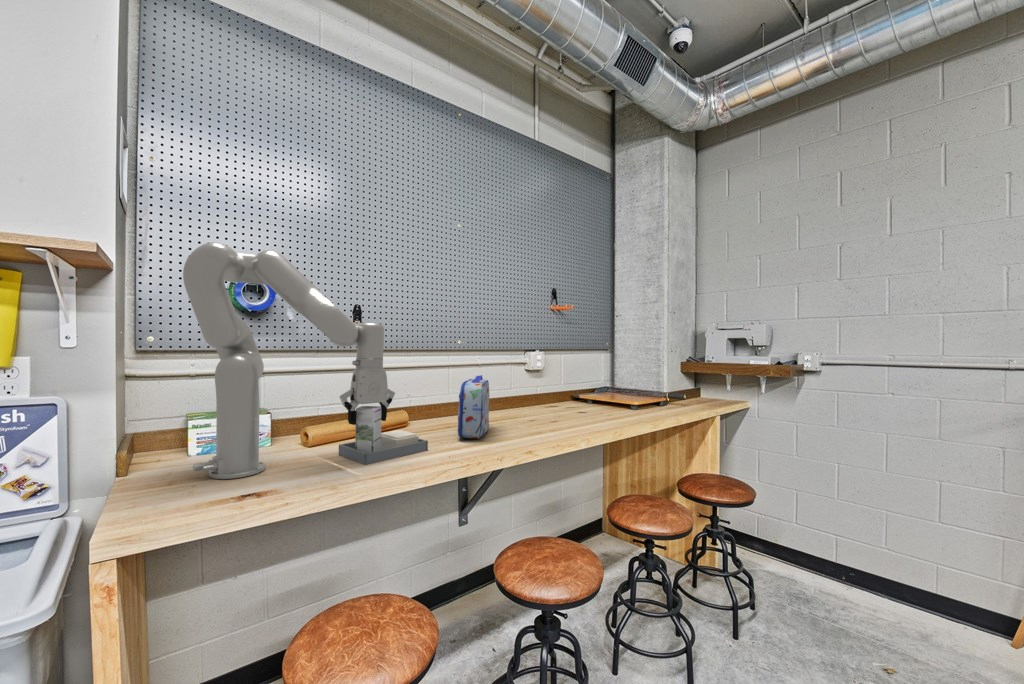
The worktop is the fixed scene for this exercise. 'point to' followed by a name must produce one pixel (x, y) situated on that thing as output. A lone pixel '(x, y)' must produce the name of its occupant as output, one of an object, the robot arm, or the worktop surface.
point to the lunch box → (473, 408)
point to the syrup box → (368, 429)
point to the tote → (381, 452)
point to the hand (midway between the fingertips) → (367, 422)
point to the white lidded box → (397, 439)
